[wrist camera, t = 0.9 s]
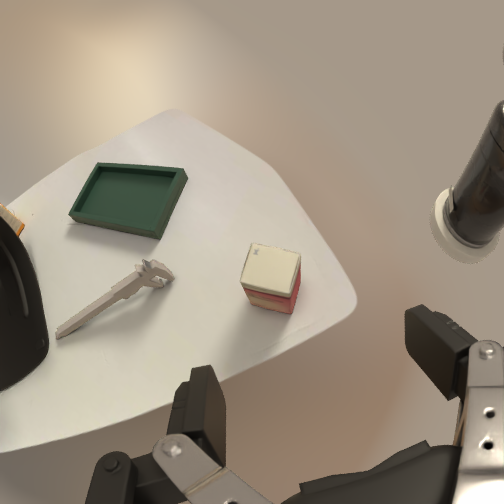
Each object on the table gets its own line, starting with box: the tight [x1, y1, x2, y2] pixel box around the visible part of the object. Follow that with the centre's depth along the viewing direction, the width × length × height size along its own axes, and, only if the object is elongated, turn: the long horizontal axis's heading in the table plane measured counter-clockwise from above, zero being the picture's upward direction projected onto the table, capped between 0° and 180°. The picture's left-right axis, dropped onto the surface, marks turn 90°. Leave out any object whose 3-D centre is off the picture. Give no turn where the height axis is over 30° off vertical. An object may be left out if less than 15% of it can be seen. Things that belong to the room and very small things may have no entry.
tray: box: [68, 163, 188, 239], centre depth 45 cm, size 18×11×2 cm, turn 74°
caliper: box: [55, 259, 174, 339], centre depth 36 cm, size 20×1×6 cm, turn 115°
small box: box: [240, 243, 301, 314], centre depth 33 cm, size 5×4×8 cm
